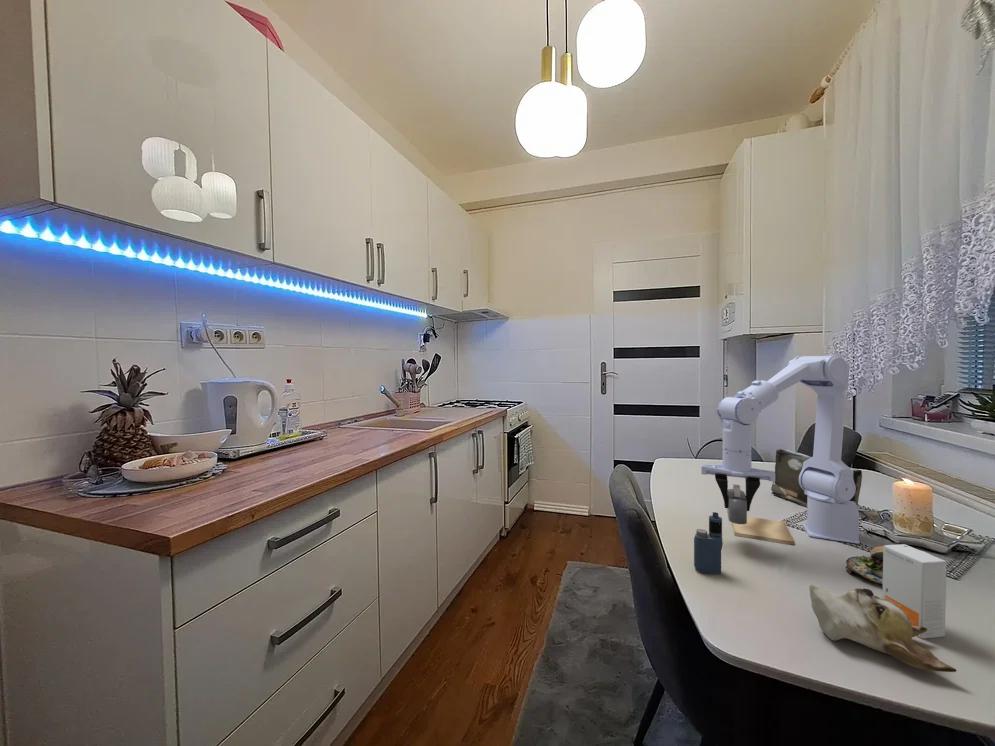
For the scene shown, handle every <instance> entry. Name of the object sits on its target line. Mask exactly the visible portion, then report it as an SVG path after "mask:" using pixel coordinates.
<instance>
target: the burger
mask: <svg viewBox="0 0 995 746" xmlns="http://www.w3.org/2000/svg"><path fill="white" fill-rule="evenodd" d="M881 538H882V539H881V540H882V541H881V543H882V544H884V539H883V538H884V537H883V536H882V537H881ZM883 547H884V545H881V546H875V547H873V548H871V549H870V551H869V554H870V556H865V555H861V556H850V557H848V558H847V559H846V561H845V562H846V566H845V569H846V570H845V571H846V572H847V574H848V575H852V572H854V573H856V574H858V575H859V576H861V577H863V578H865V579H867V580H869V581H872V582H875V583H877V584H880V585H883Z"/></svg>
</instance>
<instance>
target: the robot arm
mask: <svg viewBox="0 0 995 746" xmlns="http://www.w3.org/2000/svg"><path fill="white" fill-rule="evenodd" d="M849 379H850V364H849V363H848V361H846V360H845V358H844V357H843V356H842V355H839V354H832V355H797V356H795V357H793V358H792V359H791V360H789V361H788V363H787V366H786V367H784V368H782V369H781V370H780V371H779V372H778V373H776V374H775V375H774V376H772V377H771V378H770V379H767V381H766V380H762V379H761V380H754V381H752V382H751V385H750V386H747V388H744V389H743V390H741V391H740V390H739V391H737V392H736V394H735V395H734V396H726V397H724V398H723V399H722V400H721V401H720V402H719V403H718V406H717V408H716V409H715V412H716V416H717V417H718V418H719V421H720V426H721V428H722V465H721V464H701V465H700V467H701V468H700V469H701V470H700V471H701V473H700V474H701V475H704V476H707V475H711V476H713V475H714V478H715V482H716V484H717V485H718V488H719V489H720V492H721V496H722V498H723V504H724V508H725V509H727V508H728V487H729V485H728V483H729V481H728V477H731V478H741V479H745V496H746V499H747V512H750V510H751V509H750V508H751V504H752V502H753V498H754V497H755V494H756V492H757V491H758V489H759V488H760V487H761V480H762V481H768V482H771V483H773V482H775V470H766V469H761V468H754V467H752V424H754V423H755V422H756V420H758V416H759V414H760V413H761V412H762V411H763V410H764V409H766V408H767V407H768V406H771V405H772V404H774V403H775V402H776V401H778V399H779V393H781V392H783V391H784V390H786V389H788V388H790V387H792V386H794V385H795V384H797V383H800V384H803V385H804V386H807V387H808V388H810V389H811V390H813V391H814V392H815V394H816V395H817V400H816V413H815V414H816V415H815V423H814V424H815V426H814V439H813V452H812V453H813V455H812V456H811V457H812V458H810V459H808V460H806V461H804V462H803V467H802V471H801V473H800V475H799V484H800V486H801V488H802V489H803V490H804V494H806V495H808V496H807V507H806V514H807V515H806V517H807V518H806V519H807V520H806V521H807V522H806V523H804V522H803V523H802V527H803V528H804V531H805V532H806V534H807V535H808V536H809V537H812V538H818V539H823V540H829V541H830V540H831V541H836V542H844V543H851V544H857V545H858V544H861V541H860V519H859V516H860V515H859V513H860V512H859V508H858V507H857V505H856V503H855V502H853V501H849V500H850V499H851V498H852V497H853V496H854V494H855V490H856V487H855V483H854V480H853V471H852V470H851V469H850V468H851V467H850V468H849V466H848V465H847V464H846V463H845V462H844V461H843V460H842V451H843V439H844V425H845V414H846V413H845V412H846V401H847V400H846V398H847V390H848V389H849V382H850V381H849ZM820 469H821V470H820ZM824 470H825V471H824ZM828 471H829V472H828Z"/></svg>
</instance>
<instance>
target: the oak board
mask: <svg viewBox="0 0 995 746" xmlns="http://www.w3.org/2000/svg"><path fill="white" fill-rule="evenodd" d="M731 523H732V522H731ZM732 529H733V534H734V535H733V536H735V537H743V538H748V539H754V540H761V541H765V542H771V543H773V542H774V543H779V544H785V545H791V546H792V545H793V546H795V539H794V537H793V536H792V534H791V532H790V531H789V528H788V526H787V524H786V522H785V521H783V520H775V519H767V518H760V517H752V516H747V523H746V524H736V523H732Z"/></svg>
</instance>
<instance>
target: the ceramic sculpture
mask: <svg viewBox="0 0 995 746" xmlns="http://www.w3.org/2000/svg"><path fill="white" fill-rule="evenodd" d="M809 593H810V594H809V595H810V601H811V608H812V611H813V613H814V614H815V617H816V619H817V621H818V624H819V627H820V630H821V631H822V632H823V633H824V634H825V635H826V636H827V637H828V638H829V639H830V640H832V641H839V640H841V639H848V640H850V641H853V642H856V643H858V644H860V645H863V646H865V647H868V648H870V649H872V650H875V651H878V652H880V653H883V654H888V655H889V656H892V657H894V658H896V659H897V660H898V661H901V662H903V663H905V664H907V665H908V666H910V667H913V668H916V669H919V670H921V669H922V670H926V671H931V672H932V671H933V672H942V673H943V672H946V673H955V672H957V669H956V668H955V667H953V666H951V665H949V664H947V663H945V662H944V661H941V660H940V659H939V658H938V657H937V656H935V655H934V654H933V653H932V652H931V651H930V650H928V649H926V648H924V647H922V646H920V645H919V644H917V643H916V642H914V640H912V639H913V638H914V637H918V635H920V634H922V633H925V632H926V631H927V628H924V627H921V626H912V625H911V622H910V620H909V618H908V617H907V616H906V614H905V613H904V612H903V611H902V610H901V609H900V608H899V607H898V606H896V605H895V604H894V603H892V602H891V601H889V600H887V599H882V597H879V596H877V595H875V594H874V592H873V590H871V589H869V588H860V587H859V588H854V589H850V590H849V591H847V593H845V594H837V593H834V592H831V591H830V590H827V589H825V588H824V587H819V586H815V585H814V584H810V585H809Z"/></svg>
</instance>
